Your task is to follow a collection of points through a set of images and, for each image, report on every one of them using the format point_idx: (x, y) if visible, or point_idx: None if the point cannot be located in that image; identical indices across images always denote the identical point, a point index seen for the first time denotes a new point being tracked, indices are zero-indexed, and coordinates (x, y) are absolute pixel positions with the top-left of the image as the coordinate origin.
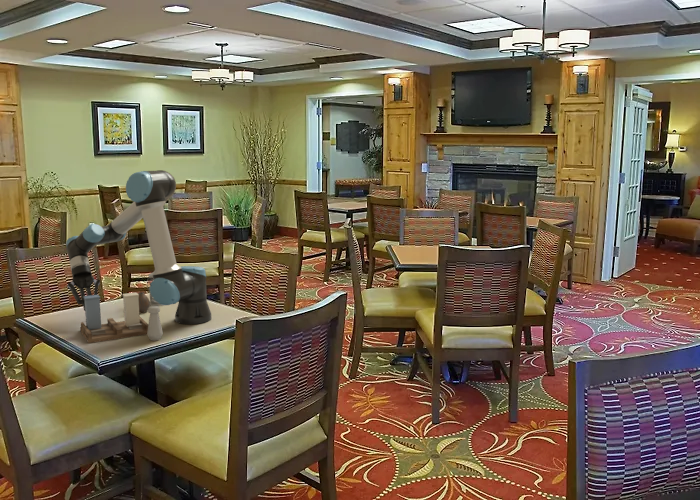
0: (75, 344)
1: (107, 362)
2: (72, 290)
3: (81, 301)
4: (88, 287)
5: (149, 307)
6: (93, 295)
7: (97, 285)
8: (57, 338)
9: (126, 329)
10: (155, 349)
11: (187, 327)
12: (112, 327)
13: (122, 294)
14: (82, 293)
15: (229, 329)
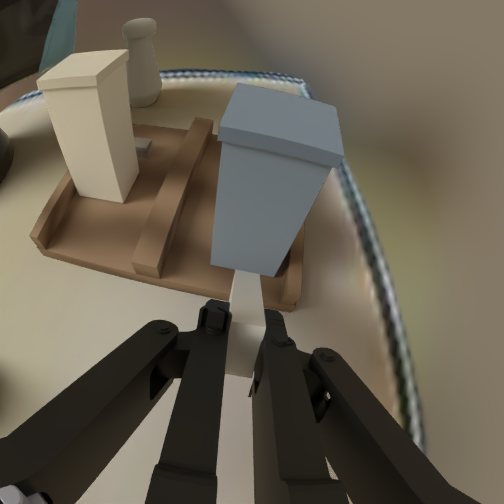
0: (335, 178)
1: (291, 76)
2: (414, 463)
3: (303, 356)
4: (190, 466)
5: (151, 20)
6: (263, 125)
7: (31, 428)
8: (380, 271)
9: (155, 158)
10: (189, 69)
11: (33, 131)
12: (191, 181)
13: (96, 77)
14: (299, 405)
15: (24, 95)
